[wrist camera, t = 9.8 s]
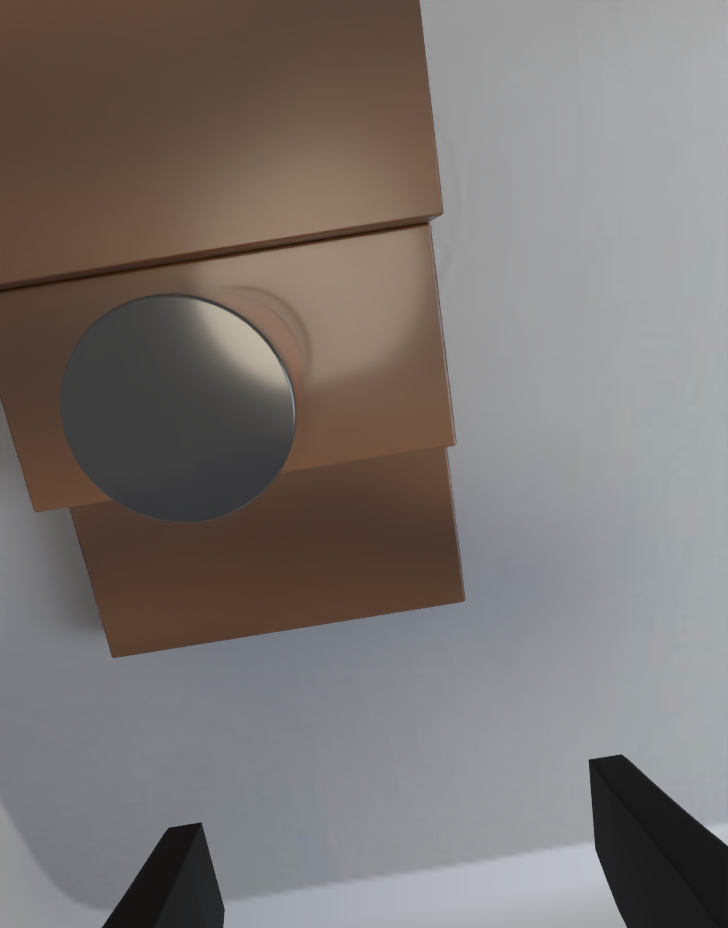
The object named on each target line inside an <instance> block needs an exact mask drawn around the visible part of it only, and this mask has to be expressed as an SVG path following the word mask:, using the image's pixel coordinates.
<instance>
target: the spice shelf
mask: <svg viewBox="0 0 728 928" xmlns="http://www.w3.org/2000/svg"><path fill="white" fill-rule="evenodd" d="M442 214H443V203H442V194H441V185H440V176H439V168H438V159H437V150H436V141H435V132H434V124H433V115H432V106H431V97H430V89H429V80H428V71H427V62H426V53H425V45H424V36H423V27H422V18H421V10H420V1H419V0H0V399H1V402H2V406H3V409H4V412H5V416H6V419H7V422H8V426H9V429H10V432H11V436H12V439H13V442H14V445H15V449H16V452H17V455H18V459H19V462H20V465H21V469H22V472H23V475H24V479H25V482H26V485H27V489H28V492H29V495H30V499H31V502H32V505H33V509H34V511H35V512H43V511H49V510H55V509H61V508H68V507H69V508H70V512H71V515H72V519H73V522H74V526H75V529H76V533H77V536H78V540H79V543H80V547H81V550H82V554H83V557H84V561H85V564H86V568H87V571H88V575H89V578H90V582H91V585H92V589H93V592H94V596H95V599H96V603H97V606H98V610H99V613H100V617H101V620H102V624H103V627H104V631H105V634H106V638H107V641H108V645H109V648H110V652H111V655H112V657H113V658H117V657H123V656H129V655H135V654H142V653H148V652H154V651H160V650H166V649H173V648H179V647H185V646H191V645H198V644H204V643H210V642H216V641H222V640H229V639H235V638H241V637H247V636H253V635H260V634H266V633H272V632H278V631H285V630H291V629H297V628H303V627H309V626H316V625H322V624H328V623H334V622H341V621H347V620H353V619H359V618H365V617H372V616H378V615H384V614H390V613H396V612H403V611H409V610H415V609H421V608H428V607H434V606H440V605H446V604H452V603H459V602H464V601H465V591H464V583H463V575H462V567H461V559H460V551H459V542H458V534H457V526H456V518H455V510H454V502H453V494H452V486H451V478H450V470H449V462H448V453H447V447H449V446H454V445H456V435H455V426H454V418H453V409H452V401H451V393H450V384H449V376H448V367H447V359H446V351H445V342H444V334H443V326H442V317H441V309H440V300H439V292H438V284H437V275H436V267H435V259H434V250H433V242H432V233H431V226H430V224H429V223H428V222H430V221H431V220H433V219H435V218H437V217H439V216H440V215H442ZM206 291H228V292H234V293H238V294H242V295H245V296H248V297H250V298H253V299H255V300H257V301H259V302H261V303H262V304H264V305H265V306H267V307H268V308H270V309H271V310H272V311H273V312H274V313H275V314H277V315H278V316H279V317H280V318H281V320H282V321H283V322H284V323H285V324H286V325H287V327H288V328H289V330H290V331H291V333H292V334H293V336H294V338H295V340H296V342H297V344H298V347H299V350H300V353H301V357H302V361H303V368H304V386H303V392H302V397H301V401H300V405H299V409H298V416H297V426H296V431H295V436H294V440H293V444H292V447H291V450H290V453H289V456H288V458H287V460H286V462H285V464H284V466H283V468H282V470H281V472H280V473H279V475H278V476H277V478H276V479H275V480H274V482H273V483H272V484H271V485H270V486H269V487H268V488H267V490H266V491H265V492H264V493H263V494H261V495H260V496H259V497H258V498H257V499H256V500H254V501H253V502H252V503H250V504H248V505H247V506H245V507H244V508H242V509H240V510H238V511H236V512H234V513H232V514H230V515H227V516H224V517H221V518H218V519H215V520H210V521H204V522H197V523H174V522H166V521H161V520H156V519H152V518H149V517H146V516H143V515H140V514H138V513H135V512H133V511H131V510H129V509H127V508H125V507H123V506H122V505H120V504H118V503H117V502H115V501H114V500H112V499H111V498H110V497H108V496H107V495H106V494H104V493H103V492H102V491H101V490H100V489H99V488H98V487H97V486H96V485H95V484H94V483H93V482H92V481H91V480H90V479H89V478H88V476H87V475H86V474H85V473H84V471H83V470H82V469H81V467H80V465H79V464H78V462H77V461H76V459H75V457H74V455H73V453H72V451H71V449H70V447H69V445H68V442H67V439H66V436H65V433H64V429H63V425H62V419H61V413H60V392H61V382H62V378H63V374H64V370H65V367H66V364H67V362H68V359H69V357H70V354H71V352H72V351H73V349H74V347H75V346H76V344H77V342H78V340H79V339H80V338H81V337H82V335H83V334H84V333H85V332H86V330H87V329H88V328H89V327H90V326H91V325H92V324H93V323H94V322H95V321H97V320H98V319H99V318H100V317H101V316H103V315H104V314H106V313H107V312H109V311H110V310H111V309H113V308H115V307H117V306H119V305H121V304H123V303H125V302H128V301H131V300H134V299H137V298H140V297H144V296H149V295H155V294H163V293H198V292H206Z"/></svg>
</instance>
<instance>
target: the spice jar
mask: <svg viewBox="0 0 728 928" xmlns="http://www.w3.org/2000/svg"><path fill="white" fill-rule="evenodd" d="M303 386H304V368H303V361H302V357H301V353H300V350H299V347H298V344H297V342H296V340H295V338H294V336H293V334H292V333H291V331H290V330H289V328H288V327H287V325H286V324H285V323H284V322H283V321H282V320H281V318H280V317H279V316H278V315H277V314H275V313H274V312H273V311H272V310H271V309H270V308H268V307H267V306H265V305H264V304H262V303H261V302H259V301H257V300H255V299H253V298H250V297H248V296H245V295H242V294H238V293H234V292H228V291H206V292H198V293H163V294H155V295H149V296H144V297H140V298H137V299H134V300H131V301H128V302H125V303H123V304H121V305H119V306H117V307H115V308H113V309H111V310H110V311H109V312H107V313H106V314H104V315H103V316H101V317H100V318H99V319H98V320H97V321H95V322H94V323H93V324H92V325H91V326H90V327H89V328H88V329H87V330H86V332H85V333H84V334H83V335H82V337H81V338H80V339H79V340H78V342H77V344H76V346H75V347H74V349H73V351H72V352H71V354H70V357H69V359H68V362H67V364H66V367H65V370H64V374H63V378H62V382H61V392H60V413H61V419H62V425H63V429H64V433H65V436H66V439H67V442H68V445H69V447H70V449H71V451H72V453H73V455H74V457H75V459H76V461H77V462H78V464H79V465H80V467H81V469H82V470H83V471H84V473H85V474H86V475H87V476H88V478H89V479H90V480H91V481H92V482H93V483H94V484H95V485H96V486H97V487H98V488H99V489H100V490H101V491H102V492H103V493H104V494H106V495H107V496H108V497H110V498H111V499H112V500H114V501H115V502H117V503H118V504H120V505H122V506H123V507H125V508H127V509H129V510H131V511H133V512H135V513H138V514H140V515H143V516H146V517H149V518H152V519H156V520H161V521H166V522H174V523H197V522H204V521H210V520H215V519H218V518H221V517H224V516H227V515H230V514H232V513H234V512H236V511H238V510H240V509H242V508H244V507H245V506H247V505H248V504H250V503H252V502H253V501H254V500H256V499H257V498H258V497H259V496H260V495H261V494H263V493H264V492H265V491H266V490H267V488H268V487H269V486H270V485H271V484H272V483H273V482H274V480H275V479H276V478H277V476H278V475H279V473H280V472H281V470H282V468H283V466H284V464H285V462H286V460H287V458H288V456H289V453H290V450H291V447H292V444H293V440H294V436H295V431H296V426H297V416H298V409H299V405H300V401H301V397H302V392H303Z"/></svg>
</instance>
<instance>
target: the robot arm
mask: <svg viewBox="0 0 728 928" xmlns="http://www.w3.org/2000/svg"><path fill="white" fill-rule="evenodd" d="M589 770H590V783H591V797H592V810H593V823H594V837H595V849H596V852H597V855H598V857H599V860H600V863H601V865H602V868H603V871H604V874H605V876H606V879H607V882H608V884H609V887H610V889H611V892H612V895H613V897H614V900H615V902H616V905H617V907H618V910H619V912H620V914H621V916H622V918H623V920H624V922H625V924H626V926H627V928H728V846H727V845H726V844H725V843H723V842H722V841H721V840H720V839H719V838H717V837H716V836H715V835H714V834H713V833H711V832H710V831H709V830H708V829H706V828H705V827H704V826H703V825H702V824H700V823H699V822H698V821H697V820H695V819H694V818H693V817H692V816H691V815H690V814H688V813H687V812H686V811H685V810H684V809H683V808H681V807H680V806H679V805H678V804H677V803H676V802H675V801H673V800H672V799H671V798H670V797H669V796H668V795H667V794H666V793H664V792H663V791H662V790H661V789H660V788H659V787H658V786H657V785H656V784H654V783H653V782H652V781H651V780H650V779H649V778H648V777H647V776H646V775H645V774H643V773H642V772H641V771H640V770H639V769H638V768H637V767H636V766H635V765H634V764H633V763H631V762H630V761H629V760H628V759H627V758H626V757H624V756H623V755H622V754H621V755H615V756H609V757H603V758H597V759H590V760H589ZM224 911H225V909H224V905H223V902H222V898H221V894H220V890H219V887H218V883H217V879H216V875H215V872H214V868H213V864H212V860H211V856H210V853H209V849H208V845H207V841H206V838H205V834H204V830H203V826H202V823H195V824H189V825H183V826H177V827H170V828H168V829H167V831H166V832H165V833H164V835H163V836H162V838H161V839H160V841H159V842H158V844H157V845H156V847H155V849H154V850H153V852H152V853H151V855H150V856H149V858H148V859H147V861H146V862H145V864H144V866H143V867H142V869H141V870H140V872H139V873H138V875H137V876H136V878H135V879H134V881H133V882H132V884H131V885H130V887H129V889H128V890H127V892H126V893H125V895H124V896H123V898H122V899H121V901H120V902H119V903H118V905H117V906H116V908H115V909H114V911H113V912H112V914H111V915H110V917H109V918H108V919H107V921H106V922H105V924H104V926H103V927H102V928H223V923H224Z"/></svg>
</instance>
